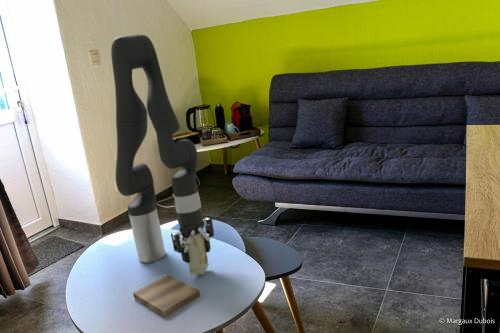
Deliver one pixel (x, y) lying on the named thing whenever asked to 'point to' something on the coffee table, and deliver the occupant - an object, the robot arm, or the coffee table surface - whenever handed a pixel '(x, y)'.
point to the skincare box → (197, 254)
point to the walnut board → (166, 295)
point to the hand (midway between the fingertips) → (197, 256)
